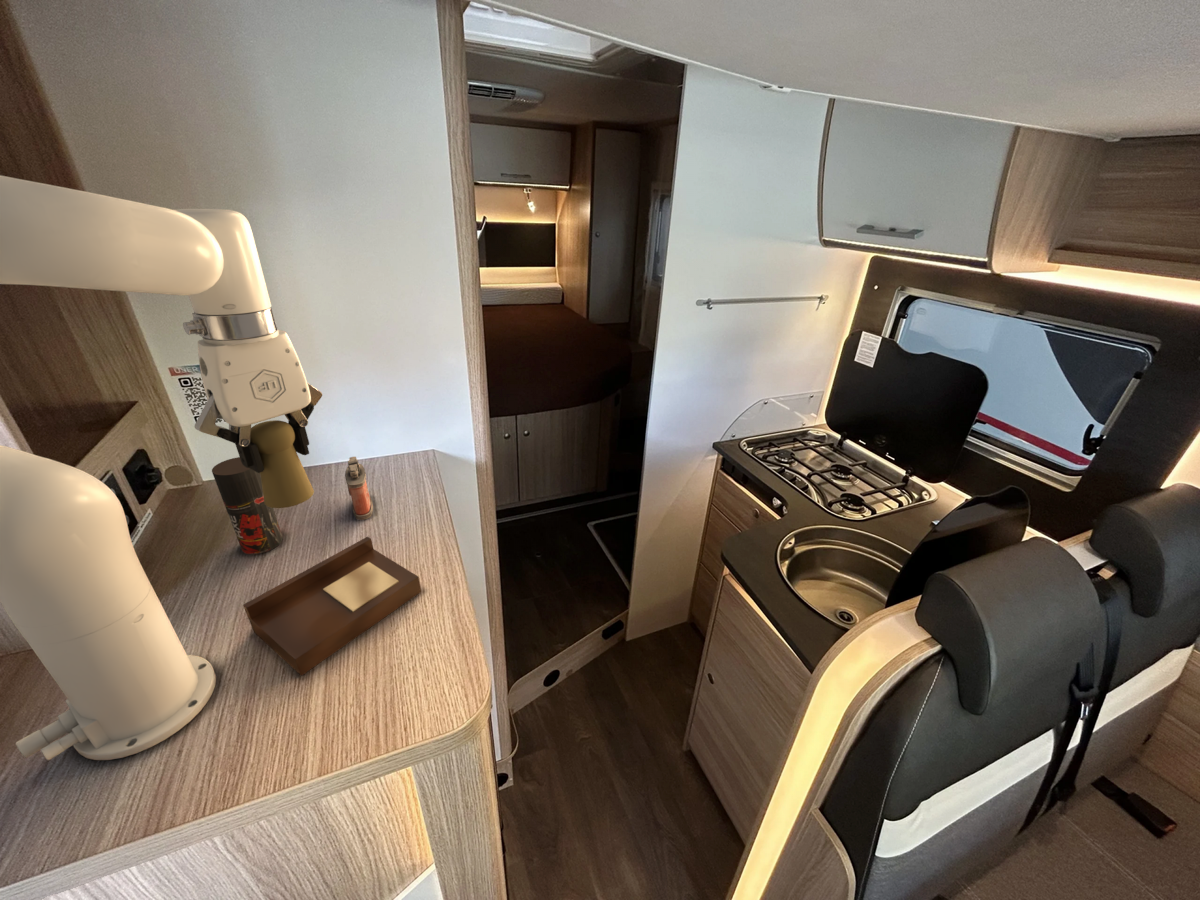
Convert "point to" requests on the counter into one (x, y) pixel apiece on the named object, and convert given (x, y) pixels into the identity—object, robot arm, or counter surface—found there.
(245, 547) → the deodorant
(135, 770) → the counter surface
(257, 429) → the cork
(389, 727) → the counter surface
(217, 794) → the counter surface
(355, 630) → the shelf
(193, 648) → the counter surface
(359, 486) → the lighter
